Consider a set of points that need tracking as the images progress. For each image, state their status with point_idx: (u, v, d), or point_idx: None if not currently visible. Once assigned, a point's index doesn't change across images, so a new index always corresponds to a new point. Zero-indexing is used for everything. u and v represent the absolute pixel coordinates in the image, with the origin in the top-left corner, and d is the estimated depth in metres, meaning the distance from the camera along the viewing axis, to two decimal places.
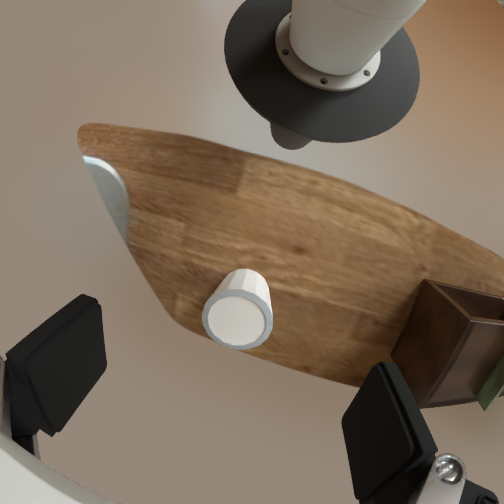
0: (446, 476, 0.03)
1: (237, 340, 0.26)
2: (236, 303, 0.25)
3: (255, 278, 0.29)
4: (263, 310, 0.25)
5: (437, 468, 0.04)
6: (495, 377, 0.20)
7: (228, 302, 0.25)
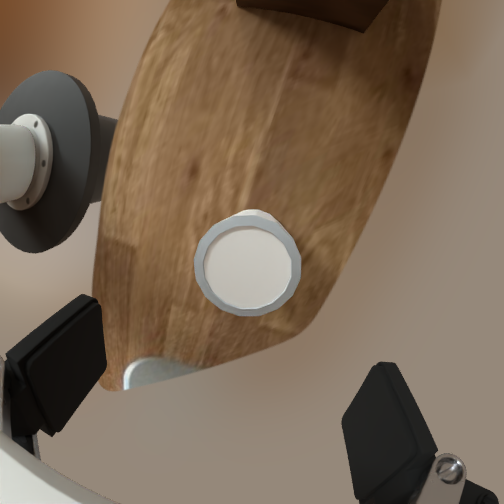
0: (446, 476, 0.03)
1: (282, 270, 0.17)
2: (216, 268, 0.17)
3: None
4: (224, 230, 0.17)
5: (436, 468, 0.04)
6: None
7: (215, 278, 0.18)
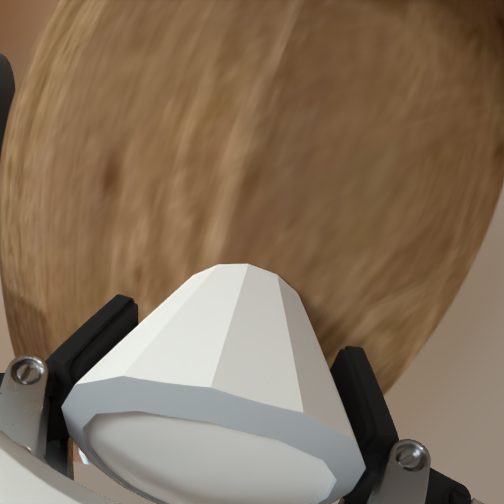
0: (408, 463, 0.04)
1: (305, 489, 0.04)
2: (123, 463, 0.04)
3: None
4: (108, 408, 0.04)
5: (397, 455, 0.05)
6: None
7: (130, 475, 0.05)
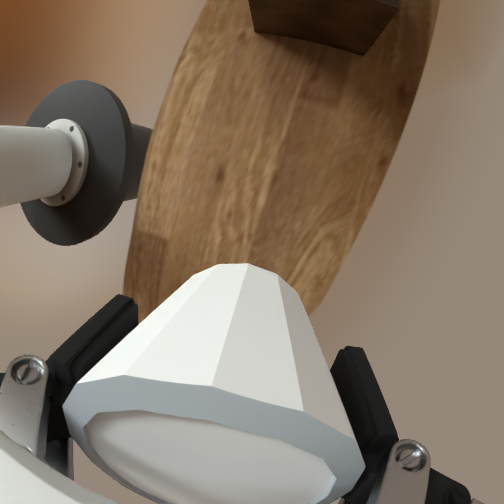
0: (408, 463, 0.04)
1: (306, 488, 0.04)
2: (124, 463, 0.04)
3: None
4: (109, 407, 0.04)
5: (396, 455, 0.05)
6: None
7: (131, 474, 0.05)
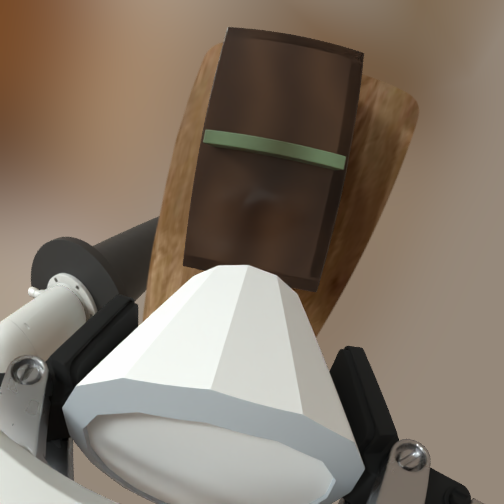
0: (408, 463, 0.04)
1: (305, 489, 0.04)
2: (123, 464, 0.04)
3: None
4: (109, 409, 0.04)
5: (396, 455, 0.05)
6: (283, 158, 0.20)
7: (130, 476, 0.05)
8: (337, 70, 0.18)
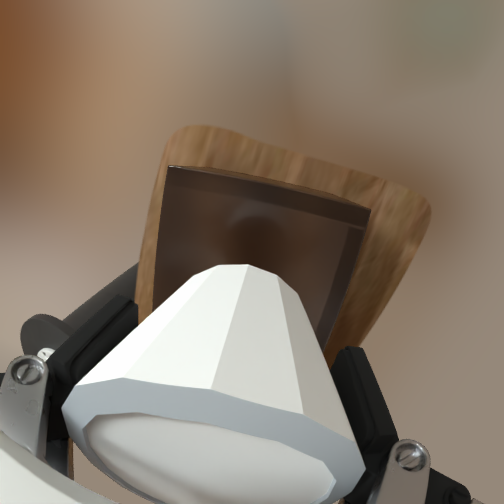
0: (408, 463, 0.04)
1: (305, 490, 0.04)
2: (123, 464, 0.04)
3: None
4: (108, 409, 0.04)
5: (396, 455, 0.05)
6: None
7: (130, 476, 0.05)
8: (325, 246, 0.15)
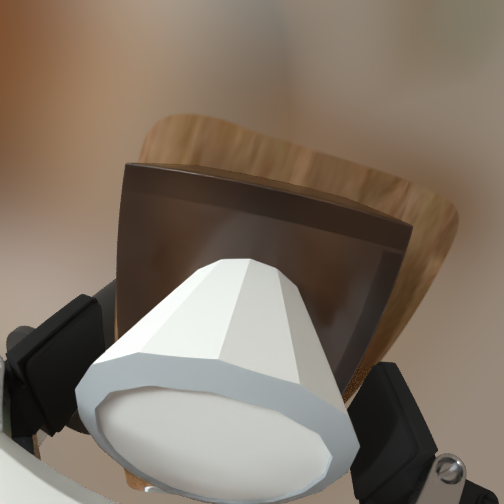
0: (446, 476, 0.03)
1: (304, 468, 0.05)
2: (131, 445, 0.05)
3: None
4: (123, 385, 0.04)
5: (437, 468, 0.04)
6: None
7: (137, 458, 0.05)
8: (350, 278, 0.11)
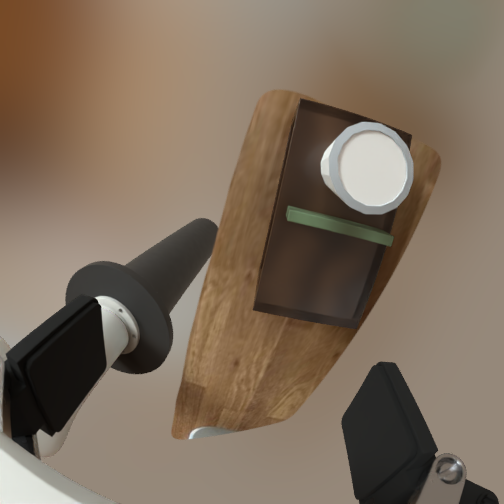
0: (446, 476, 0.03)
1: (400, 171, 0.17)
2: (348, 165, 0.18)
3: (327, 149, 0.22)
4: (357, 131, 0.17)
5: (436, 468, 0.04)
6: None
7: (347, 175, 0.18)
8: None
